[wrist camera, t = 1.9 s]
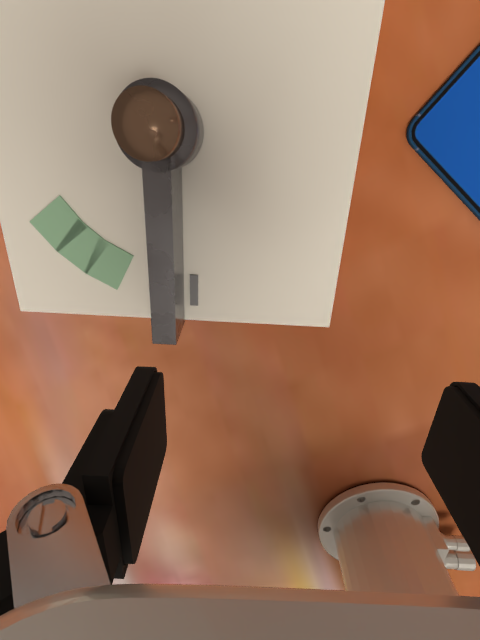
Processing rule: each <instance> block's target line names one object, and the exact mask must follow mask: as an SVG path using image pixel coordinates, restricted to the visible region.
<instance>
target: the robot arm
mask: <svg viewBox="0 0 480 640" xmlns="http://www.w3.org/2000/svg"><path fill="white" fill-rule="evenodd" d="M166 446H167V435H166V416H165V398H164V379H163V373H162V372H157V369H156V367H136V368H135V370H134V372H133V374H132V376H131V378H130V380H129V382H128V384H127V386H126V388H125V390H124V392H123V394H122V396H121V398H120V400H119V402H118V404H117V406H116V408H115V410H110V409H105V410H103V411H102V413H101V414H100V416H99V417H98V419H97V421H96V423H95V425H94V427H93V428H92V430H91V432H90V434H89V436H88V437H87V439H86V441H85V443H84V445H83V446H82V448H81V450H80V452H79V454H78V456H77V457H76V459H75V461H74V463H73V465H72V466H71V468H70V470H69V472H68V474H67V475H66V477H65V479H64V481H63V483H62V484H51V485H48V486H45V487H41V488H39V489H37V490H35V491H33V492H31V493H30V494H28V495H27V496H26V497H24V498H23V499H22V500H21V501H20V502H19V503H18V504H17V505H16V506H15V507H14V509H13V510H12V512H11V514H10V516H9V518H8V520H7V527H6V530H5V531H3V532H2V533H0V640H480V597H469V596H459V595H458V592H457V590H456V588H455V586H454V584H453V582H452V580H451V578H450V576H449V573H448V571H447V569H454V570H466V571H474V570H475V569H476V562H475V559H476V560H477V562H478V564H479V566H480V387H479V386H478V385H477V384H475V383H468V382H453V383H451V384H450V386H448V387H446V388H445V389H444V391H443V394H442V397H441V400H440V402H439V405H438V408H437V411H436V414H435V417H434V420H433V422H432V425H431V428H430V431H429V434H428V437H427V440H426V443H425V445H424V448H423V451H422V462H423V465H424V467H425V469H426V470H427V472H428V474H429V476H430V478H431V479H432V481H433V483H434V485H435V487H436V488H437V490H438V492H439V494H440V496H441V497H442V499H443V501H444V503H445V505H446V506H447V508H448V510H449V512H450V514H451V515H452V517H453V519H454V521H455V523H456V524H457V526H458V528H459V530H460V532H461V533H462V535H463V536H457V535H452V536H445V535H444V534H443V533H441V532H440V531H439V529H438V528H439V517H438V515H437V512H436V510H435V508H434V506H433V505H432V503H431V501H430V500H429V499H428V498H427V497H426V496H425V495H424V494H423V493H421V492H419V491H418V490H416V489H414V488H411V487H409V486H406V485H401V484H396V483H384V482H382V483H370V484H366V485H361V486H357V487H355V488H352V489H349V490H347V491H345V492H343V493H341V494H340V495H338V496H337V497H335V498H334V499H333V500H331V501H330V502H329V503H328V504H327V506H326V507H325V508H324V509H323V511H322V513H321V514H320V517H319V520H318V533H319V538H320V542H321V544H322V546H323V548H324V549H325V550H326V551H327V553H329V554H330V555H331V556H332V557H334V558H335V559H337V560H339V563H340V567H341V572H342V576H343V581H344V585H345V590H346V591H342V590H320V589H295V588H271V587H246V586H221V585H182V584H117V585H112V583H113V579H114V578H117V579H124V577H125V574H126V570H127V567H128V564H135V562H136V560H137V557H138V553H139V550H140V546H141V542H142V538H143V535H144V531H145V527H146V523H147V520H148V516H149V512H150V509H151V505H152V501H153V497H154V494H155V490H156V486H157V482H158V479H159V475H160V471H161V468H162V464H163V460H164V456H165V452H166ZM470 550H471V551H472V552H471V551H470ZM472 553H473V554H472ZM473 555H474V556H473ZM474 557H475V558H474Z"/></svg>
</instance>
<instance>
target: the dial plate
mask: <svg viewBox="0 0 480 640" xmlns="http://www.w3.org/2000/svg"><path fill="white" fill-rule="evenodd" d="M384 3H385V0H0V223H1V227H2V231H3V236H4V240H5V244H6V249H7V253H8V258H9V262H10V266H11V271H12V275H13V280H14V284H15V288H16V293H17V297H18V302H19V306H20V310H21V311H29V312H48V313H67V314H86V315H105V316H124V317H144V318H151V309H150V293H149V276H148V260H147V244H146V227H145V211H144V195H143V179H142V168H140V167H138V166H136V165H135V164H133V163H132V162H131V161H130V160H129V159H128V158H127V157H126V156H125V155H124V153H123V152H122V150H121V149H120V147H119V145H118V143H117V141H116V139H115V137H114V134H113V131H112V126H111V113H112V108H113V105H114V103H115V101H116V99H117V98H118V96H119V95H120V94H121V92H122V91H123V90H124V89H125V88H126V87H127V86H128V85H129V84H131V83H132V82H134V81H136V80H139V79H142V78H158V79H162V80H165V81H167V82H169V83H171V84H172V85H174V86H175V87H177V88H178V89H179V90H180V91H181V92H182V93H184V94H185V95H186V96H187V97H188V98H189V99H190V100H191V101H192V102H193V103H194V104H195V106H196V107H197V109H198V111H199V113H200V115H201V118H202V121H203V127H204V138H203V143H202V146H201V149H200V151H199V153H198V154H197V156H196V157H195V158H194V160H193V161H191V162H190V163H189V164H187V165H186V166H184V167H182V206H183V261H184V316H185V320H201V321H220V322H240V323H259V324H278V325H297V326H316V327H329V326H330V320H331V314H332V308H333V302H334V296H335V290H336V285H337V279H338V273H339V267H340V261H341V255H342V249H343V244H344V238H345V232H346V226H347V220H348V214H349V208H350V203H351V197H352V191H353V185H354V179H355V173H356V167H357V161H358V156H359V150H360V144H361V138H362V132H363V126H364V120H365V115H366V109H367V103H368V97H369V91H370V85H371V79H372V73H373V68H374V62H375V56H376V50H377V44H378V38H379V32H380V27H381V21H382V15H383V9H384Z"/></svg>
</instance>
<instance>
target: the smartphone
mask: <svg viewBox="0 0 480 640" xmlns="http://www.w3.org/2000/svg"><path fill="white" fill-rule="evenodd" d="M407 141H408V143H409V144H410V146H411V147H412V148H413V149H414V150H415V151H416V152H417V153H418V155H419V156H420V157H421V158H422V159H423V160H424V161H425V162H426V163H427V164H428V165H429V166H430V167H431V169H432V170H433V171H434V172H435V173H436V174H437V175H438V176H439V177H440V178H441V179H442V180H443V181H444V183H445V184H446V185H447V186H448V187H449V188H450V189H451V190H452V191H453V192H454V193H455V194H456V195H457V197H458V198H459V199H460V200H461V201H462V202H463V203H464V204H465V205H466V206H467V207H468V208H469V209H470V211H471V212H472V213H473V214H474V215H475V216H476V217H477V218H478V219H479V220H480V45H479V46H478V47H477V48H476V49H475V50H474V51H473V53H472V54H471V55H470V56H469V57H468V58H467V60H466V61H464V63H463V64H462V65H461V66H460V67H459V69H458V70H456V71H455V72H454V74H453V75H452V76H451V77H450V78H449V80H448V81H447V82H446V83H445V84H444V85H443V87H442V88H441V89H439V90H438V91H437V92H436V94H435V95H434V96H433V97H432V99H431V100H429V102H428V103H427V104H426V105H425V106H424V107H423V108H422V109H421V110H420V111H419V112H418V114H417V115H416V116H415V117H414V118H413V119H412V121H411V122H410V124H409V126H408V128H407ZM413 141H414V142H413ZM417 146H418V147H419V148H420V149H419V148H418V147H417ZM430 160H431V161H430Z"/></svg>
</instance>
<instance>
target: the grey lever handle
mask: <svg viewBox="0 0 480 640" xmlns="http://www.w3.org/2000/svg"><path fill="white" fill-rule="evenodd" d="M111 126H112V131H113V134H114V137H115V139H116V141H117V143H118V145H119V147H120V149H121V150H122V152H123V153H124V155H125V156H126V157H127V158H128V159H129V160H130V161H131V162H132V163H133V164H135V165H136V166H138V167H140V168H142V179H143V195H144V211H145V227H146V244H147V260H148V276H149V293H150V309H151V325H152V341H153V344H173V345H176V344H177V341H178V339H179V336H180V333H181V330H182V328H183V325H184V322H185V316H184V261H183V206H182V167H184V166H186V165H187V164H189V163H190V162H191V161H193V160H194V158H195V157H196V156H197V154H198V153H199V151H200V149H201V146H202V143H203V138H204V127H203V121H202V118H201V115H200V113H199V111H198V109H197V107H196V106H195V104H194V103H193V102H192V101H191V100H190V99H189V98H188V97H187V96H186V95H185V94H184V93H182V92H181V91H180V90H179V89H178V88H177V87H175V86H174V85H172V84H171V83H169V82H167V81H165V80H162V79H158V78H142V79H139V80H136V81H134V82H132V83H131V84H129V85H128V86H127V87H126V88H125V89H124V90H123V91H122V92H121V94H120V95H119V96H118V98H117V99H116V101H115V103H114V105H113V108H112V113H111Z"/></svg>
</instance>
